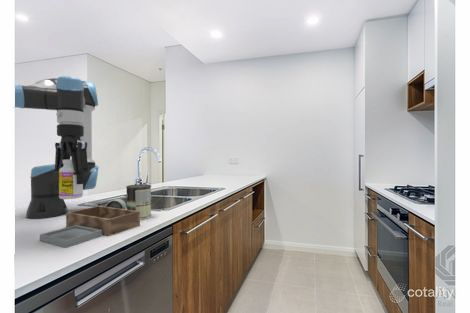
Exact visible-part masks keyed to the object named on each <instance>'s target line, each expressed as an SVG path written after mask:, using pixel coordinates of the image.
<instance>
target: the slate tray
mask: <svg viewBox="0 0 470 313" xmlns="http://www.w3.org/2000/svg"><path fill="white" fill-rule="evenodd" d="M102 236H103V235H102V230H99V229H94V228H89V227H84V226H79V225H75V226H71V227H64V228H60V229H55V230H52V231H48V232H44V233H41V234H39V242H42V243H47V244H51V245H54V246H59V247H62V248H66V249H67V248H69V247H72V246H76V245H78V244H81V243H85V242H87V241H90V240H94V239H97V238H100V237H102Z"/></svg>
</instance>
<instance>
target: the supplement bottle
mask: <svg viewBox="0 0 470 313" xmlns="http://www.w3.org/2000/svg"><path fill="white" fill-rule="evenodd" d="M63 164H64V165H63V167H62V168H60V169H59V198H60V199H64V200H73V199H74V200H75V199H80V198H82V197H83V195H84V193H83V194H78V195H73V173H75V171H74V167H73V162H72V159H71V158H70V159H67V160H63Z"/></svg>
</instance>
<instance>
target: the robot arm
mask: <svg viewBox="0 0 470 313" xmlns="http://www.w3.org/2000/svg"><path fill="white" fill-rule="evenodd" d="M14 85H15V107H14V108H18V109H32V110H33V109H34V110H47V111H56V114H55V115H56V123H58V124H57V125H56V135H57V136H58V137H61V138H60V141H59V142H55V144H54V147H55V158H54V160H55V161H54V163H53V164H47V165H46V164H44V165H37V166H33V167H32V168H31V171H30V177H29V178H30V202H29V205H28V206H27V209H26V213H25V215H26V219H45V218H53V217H58V216H62V215H66V213H67V212H68V206H67V204H66V202H65V199H60V198H59V169H60V168H62V167H63V165H64V164H63V160H67V159H72V162H73V167H74V171H75V173H73V195H78V194H83V195H84V191H86V190H93V189H96V186H97V181H98V174H99V173H98V172H99V165H98V164H97V165H96V161H95V160H94V159H93V154H92V152H93V144H92V143H93V142H92V141H93V140H92V138H93V136H92V135H93V134H92V133H93V129H92V128H93V127H92V126H93V123H92V120H93V118H92V113H93V112H94V111H95V110H96V107H98V106H99V101H98V95H97V94H98V92H97V88H96V87H97V86H96V84H95V83H94V82H91V81H87V80H82V79H80V78H78V77H73V76H70V75H69V76H68V75H67V76H66V75H64V76H63V75H62V76H61V75H60V76H57V78H53V77H52V78H45V79H41V80H40V79H39V80H37V81H36V82H35V83H34V84H33V83H32V84H29V85H21V84H14Z"/></svg>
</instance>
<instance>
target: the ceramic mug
mask: <svg viewBox="0 0 470 313" xmlns="http://www.w3.org/2000/svg"><path fill="white" fill-rule="evenodd" d="M104 207H111V208H119V209H126V210H127V202H125V200H124V199H120V198H115V199H112V200H110V201H108V202H107V203H106V204H105V206H104Z"/></svg>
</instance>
